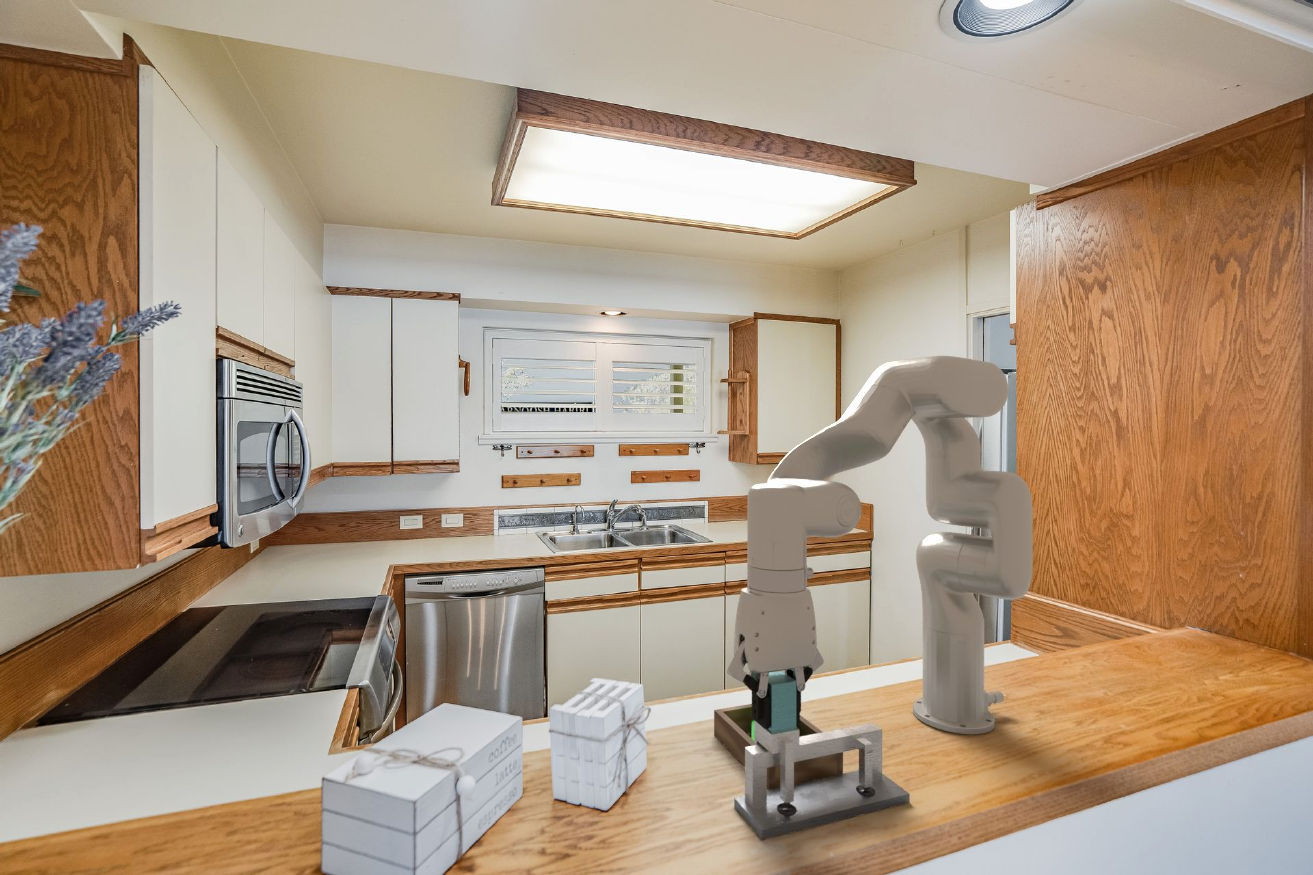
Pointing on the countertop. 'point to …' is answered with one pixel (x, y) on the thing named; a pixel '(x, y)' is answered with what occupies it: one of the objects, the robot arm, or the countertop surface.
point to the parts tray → (733, 736)
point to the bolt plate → (820, 804)
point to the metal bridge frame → (812, 747)
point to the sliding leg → (781, 730)
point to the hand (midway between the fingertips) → (776, 720)
